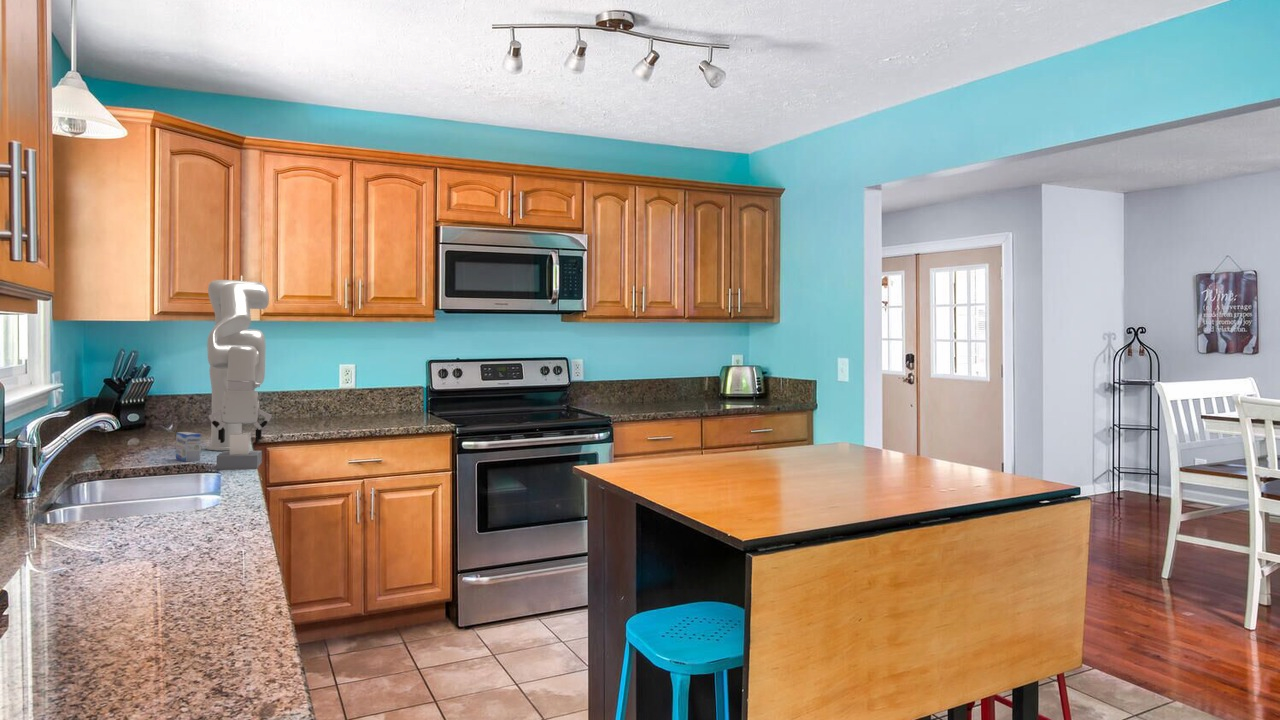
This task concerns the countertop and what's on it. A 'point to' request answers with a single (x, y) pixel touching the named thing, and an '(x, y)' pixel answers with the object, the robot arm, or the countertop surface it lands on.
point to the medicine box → (188, 446)
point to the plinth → (239, 460)
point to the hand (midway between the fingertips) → (239, 442)
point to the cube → (239, 443)
